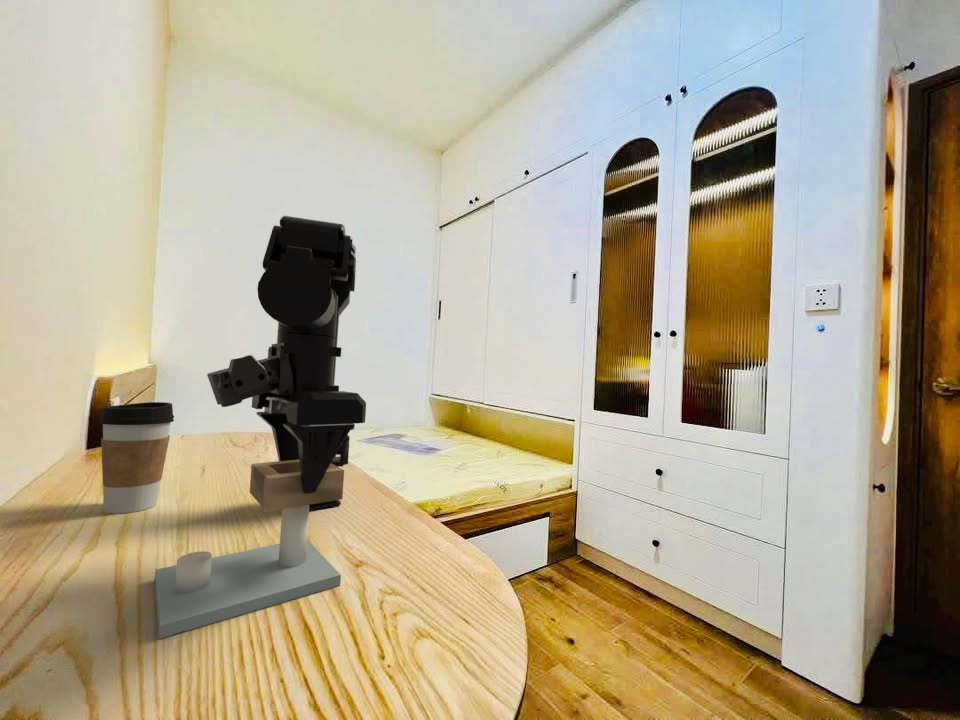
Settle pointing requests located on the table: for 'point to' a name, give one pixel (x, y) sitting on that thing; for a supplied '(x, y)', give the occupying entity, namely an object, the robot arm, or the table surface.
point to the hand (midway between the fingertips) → (297, 484)
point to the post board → (241, 579)
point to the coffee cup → (134, 454)
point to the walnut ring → (291, 485)
